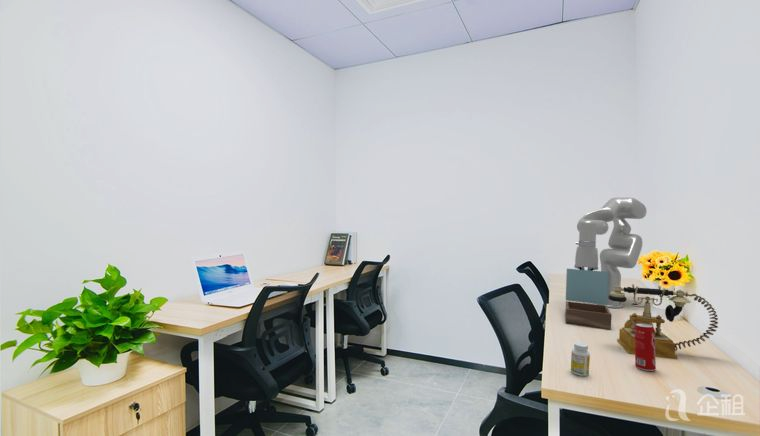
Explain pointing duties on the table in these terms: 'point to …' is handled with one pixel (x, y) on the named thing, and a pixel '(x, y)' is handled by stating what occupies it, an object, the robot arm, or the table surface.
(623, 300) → the rotary telephone
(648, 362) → the beverage can
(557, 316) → the table surface
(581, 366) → the supplement bottle
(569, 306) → the storage box
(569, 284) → the lid
